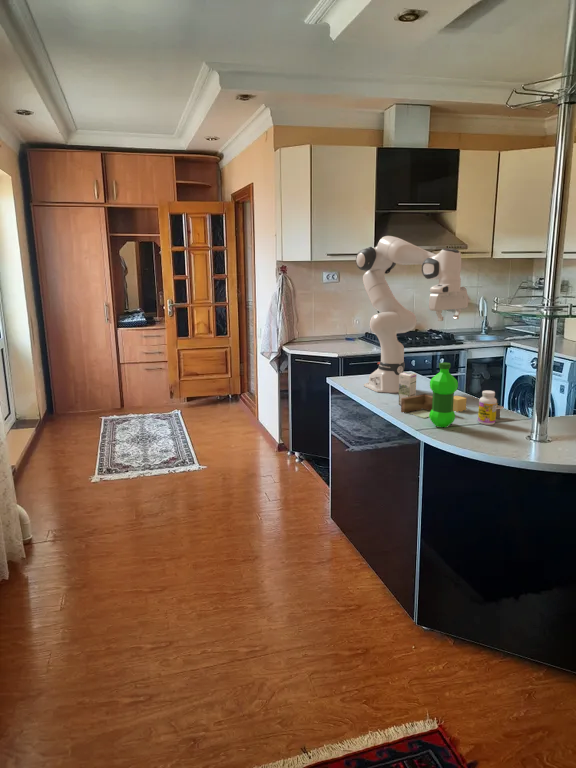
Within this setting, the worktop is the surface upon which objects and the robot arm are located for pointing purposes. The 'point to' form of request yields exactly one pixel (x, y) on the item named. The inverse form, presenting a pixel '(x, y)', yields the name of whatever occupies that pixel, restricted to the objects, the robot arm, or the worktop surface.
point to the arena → (416, 403)
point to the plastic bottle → (443, 396)
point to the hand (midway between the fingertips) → (448, 320)
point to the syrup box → (407, 385)
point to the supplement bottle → (487, 408)
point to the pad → (421, 414)
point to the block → (459, 403)
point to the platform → (498, 410)
